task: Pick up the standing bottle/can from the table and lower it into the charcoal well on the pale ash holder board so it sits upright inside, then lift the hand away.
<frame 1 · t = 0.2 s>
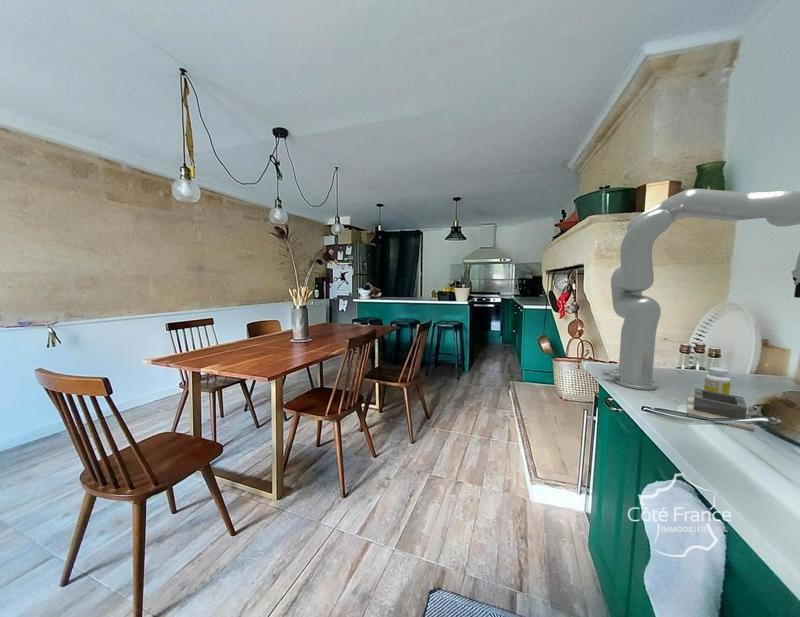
holder board: (717, 412, 83), on the countertop
supplement bottle: (715, 400, 92), on the countertop
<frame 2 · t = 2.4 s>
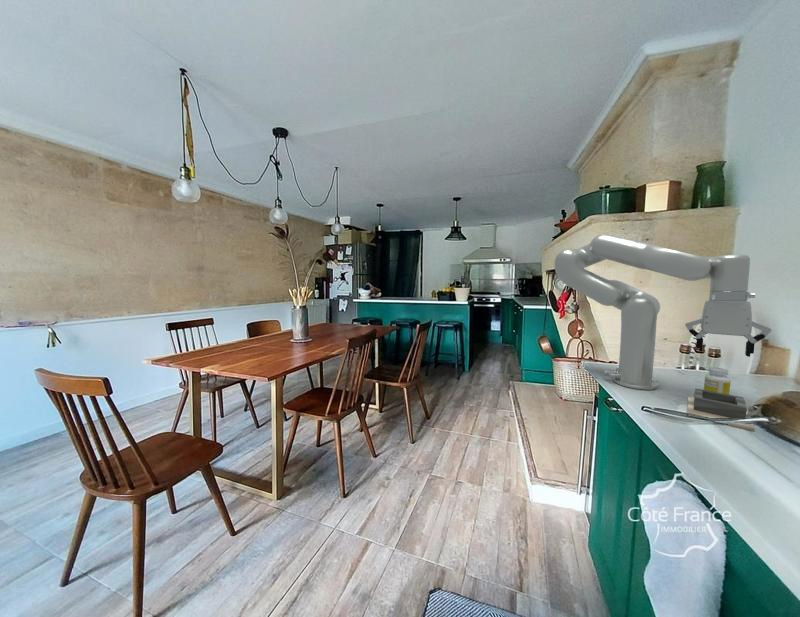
hand: (723, 353, 89), 15 cm above the countertop, tool pointing down, fingers open, 9 cm apart
nothing on the countertop moved.
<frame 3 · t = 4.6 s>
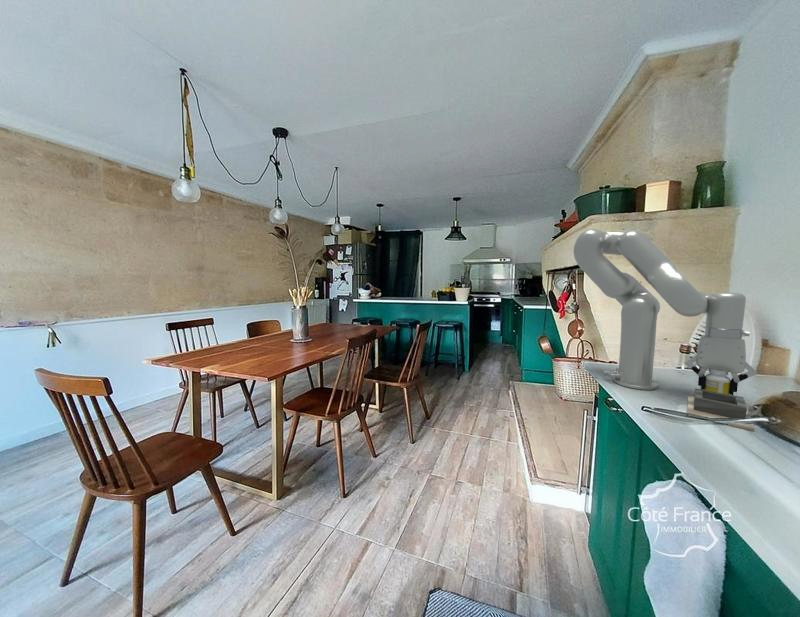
hand: (716, 390, 91), 3 cm above the countertop, tool pointing down, fingers closed on supplement bottle, 5 cm apart
supplement bottle: (715, 400, 92), on the countertop, touching gripper
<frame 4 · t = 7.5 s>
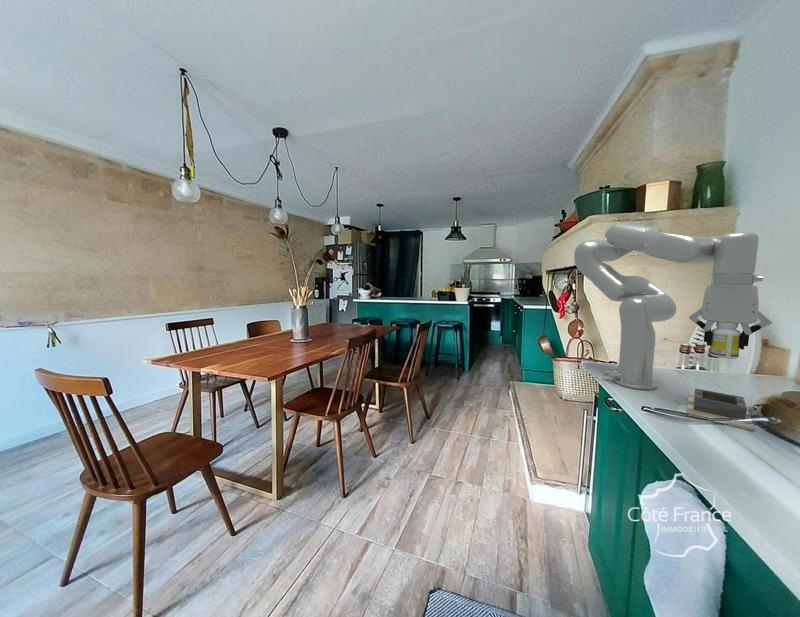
hand: (724, 346, 81), 19 cm above the countertop, tool pointing down, fingers closed on supplement bottle, 5 cm apart
supplement bottle: (723, 357, 81), point 16 cm above the countertop, touching gripper
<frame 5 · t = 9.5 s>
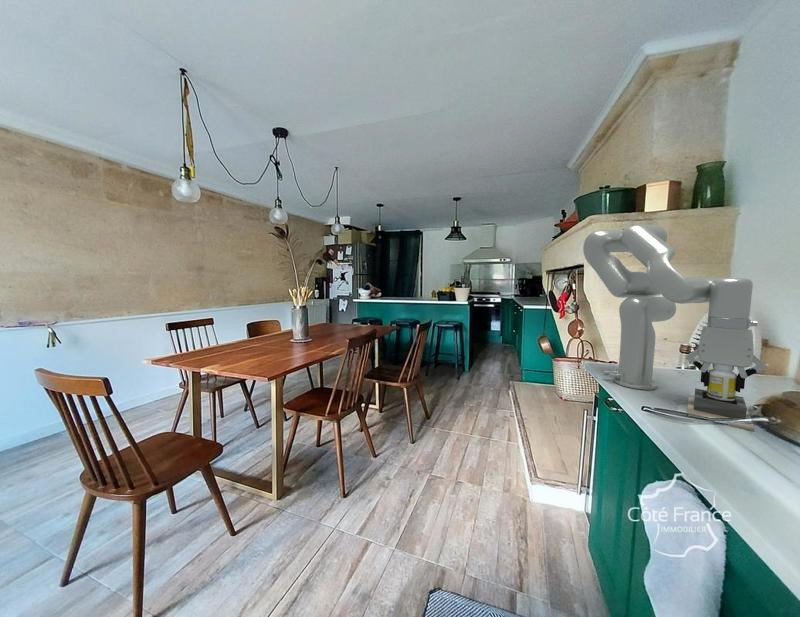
hand: (721, 387, 82), 8 cm above the countertop, tool pointing down, fingers closed on supplement bottle, 5 cm apart
supplement bottle: (720, 398, 82), point 4 cm above the countertop, touching gripper
when the fingers open (5 cm above the countertop, at t = 10.9 s): supplement bottle drops 1 cm, resting on holder board.
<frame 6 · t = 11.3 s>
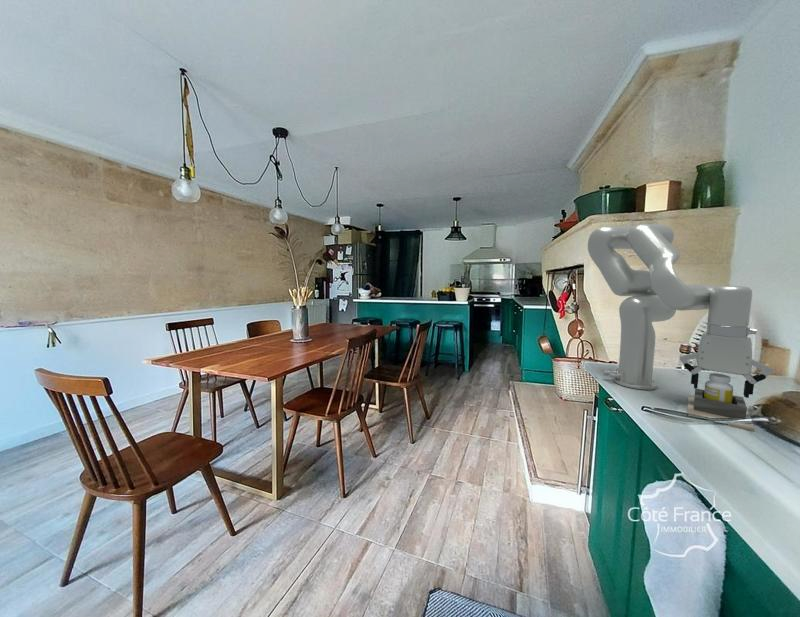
hand: (719, 391, 82), 6 cm above the countertop, tool pointing down, fingers open, 9 cm apart
supplement bottle: (716, 409, 83), point 1 cm above the countertop, touching holder board
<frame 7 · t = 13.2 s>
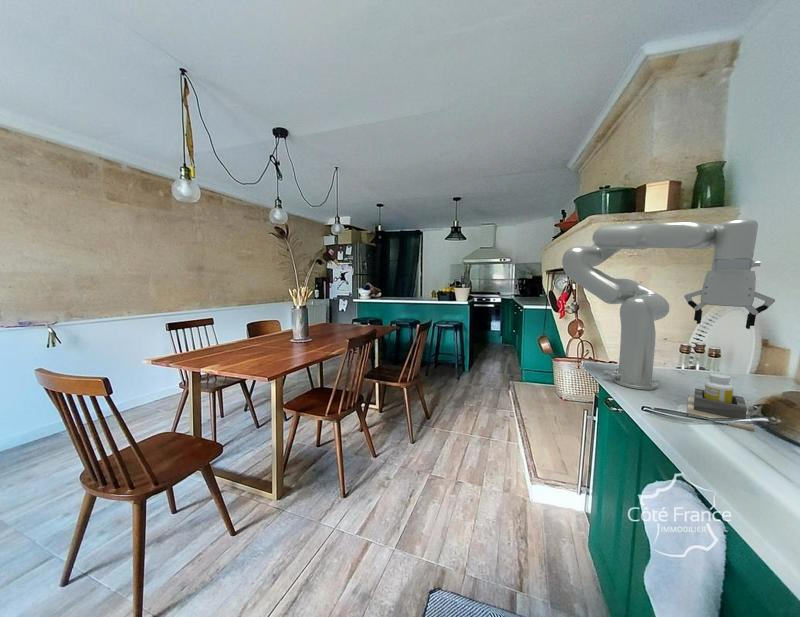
hand: (722, 325, 85), 24 cm above the countertop, tool pointing down, fingers open, 9 cm apart
nothing on the countertop moved.
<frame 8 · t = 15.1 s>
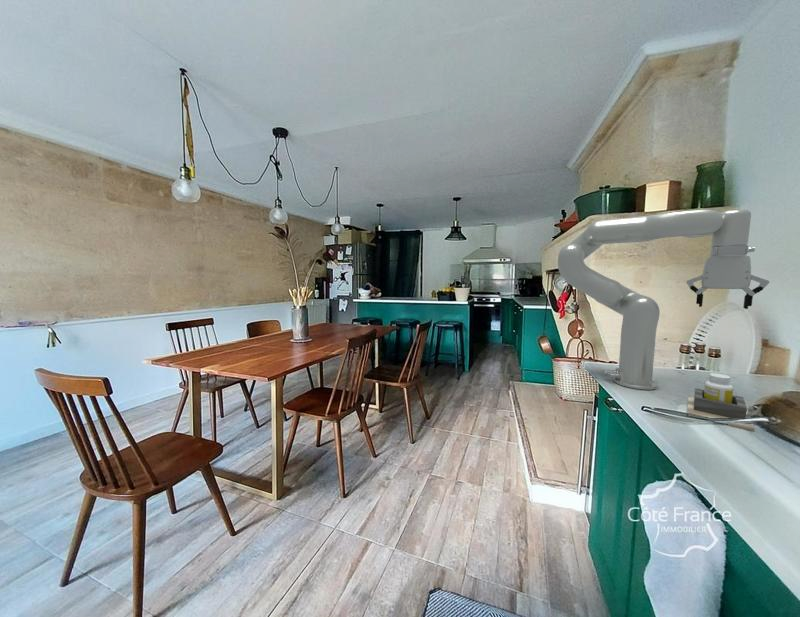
hand: (722, 307, 93), 28 cm above the countertop, tool pointing down, fingers open, 9 cm apart
nothing on the countertop moved.
at the end: supplement bottle 0.3 cm off-centre on the holder board, point 0.8 cm above the holder board's base; supplement bottle tilted 0°; the gripper is holding nothing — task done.
